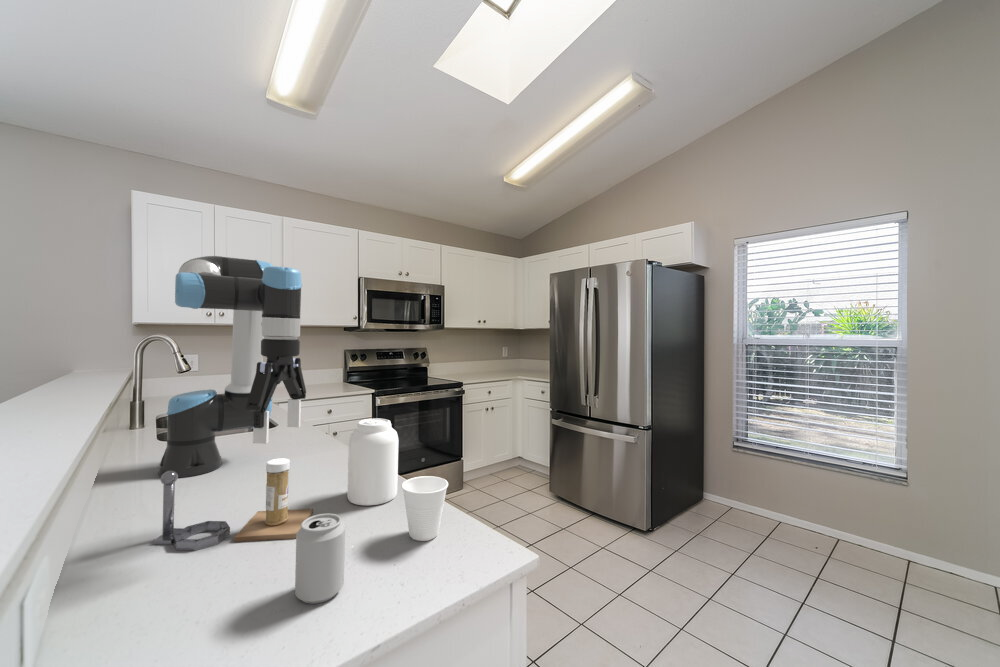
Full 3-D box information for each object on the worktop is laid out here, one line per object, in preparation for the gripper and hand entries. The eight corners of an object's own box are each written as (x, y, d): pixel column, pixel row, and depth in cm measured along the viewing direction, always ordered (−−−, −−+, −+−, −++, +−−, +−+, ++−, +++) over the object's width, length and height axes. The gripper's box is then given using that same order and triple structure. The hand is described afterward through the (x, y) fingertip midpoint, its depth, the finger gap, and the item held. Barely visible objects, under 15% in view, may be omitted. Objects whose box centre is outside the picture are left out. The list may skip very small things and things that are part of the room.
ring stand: (178, 527, 89) (179, 463, 88) (237, 528, 89) (239, 465, 89) (142, 549, 80) (143, 478, 80) (208, 551, 80) (210, 480, 80)
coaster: (257, 515, 95) (257, 511, 95) (312, 512, 97) (312, 508, 97) (234, 542, 83) (234, 537, 83) (297, 538, 85) (297, 533, 85)
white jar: (350, 510, 99) (352, 428, 99) (344, 491, 110) (346, 417, 110) (402, 501, 105) (404, 423, 105) (391, 484, 116) (393, 414, 116)
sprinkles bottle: (289, 523, 90) (291, 462, 90) (265, 528, 87) (267, 465, 87) (286, 515, 93) (288, 456, 93) (263, 519, 91) (265, 459, 91)
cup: (454, 528, 91) (456, 479, 91) (433, 550, 82) (434, 496, 82) (415, 520, 95) (416, 473, 95) (390, 541, 85) (392, 488, 85)
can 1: (305, 579, 72) (306, 510, 72) (349, 577, 72) (350, 510, 72) (286, 607, 64) (288, 531, 64) (335, 606, 65) (337, 531, 65)
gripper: (292, 336, 102) (290, 420, 103) (226, 339, 77) (223, 450, 78) (322, 337, 102) (320, 421, 103) (266, 340, 78) (263, 451, 78)
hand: (278, 434), depth 90 cm, fingers open, 13 cm apart
